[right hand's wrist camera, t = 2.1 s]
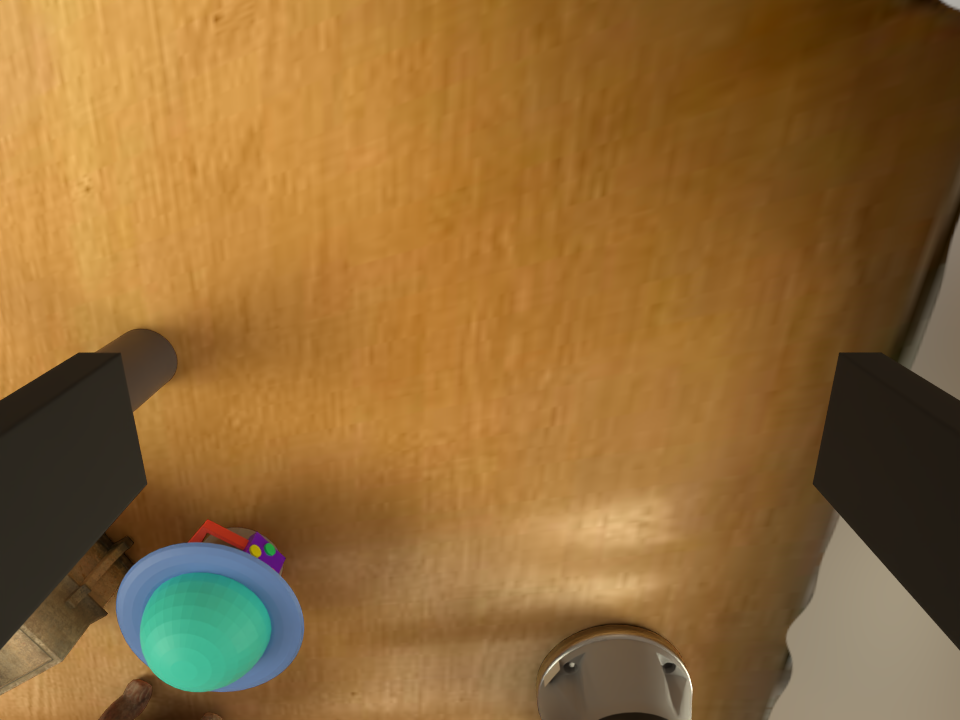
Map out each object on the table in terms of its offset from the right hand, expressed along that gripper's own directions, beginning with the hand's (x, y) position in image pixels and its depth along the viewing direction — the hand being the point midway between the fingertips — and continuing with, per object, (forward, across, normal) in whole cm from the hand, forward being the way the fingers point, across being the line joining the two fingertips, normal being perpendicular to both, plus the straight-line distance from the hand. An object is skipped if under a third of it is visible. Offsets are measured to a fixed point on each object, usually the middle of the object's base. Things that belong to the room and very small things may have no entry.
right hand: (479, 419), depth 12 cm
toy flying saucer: (+41, +22, +33) cm, 57 cm away
